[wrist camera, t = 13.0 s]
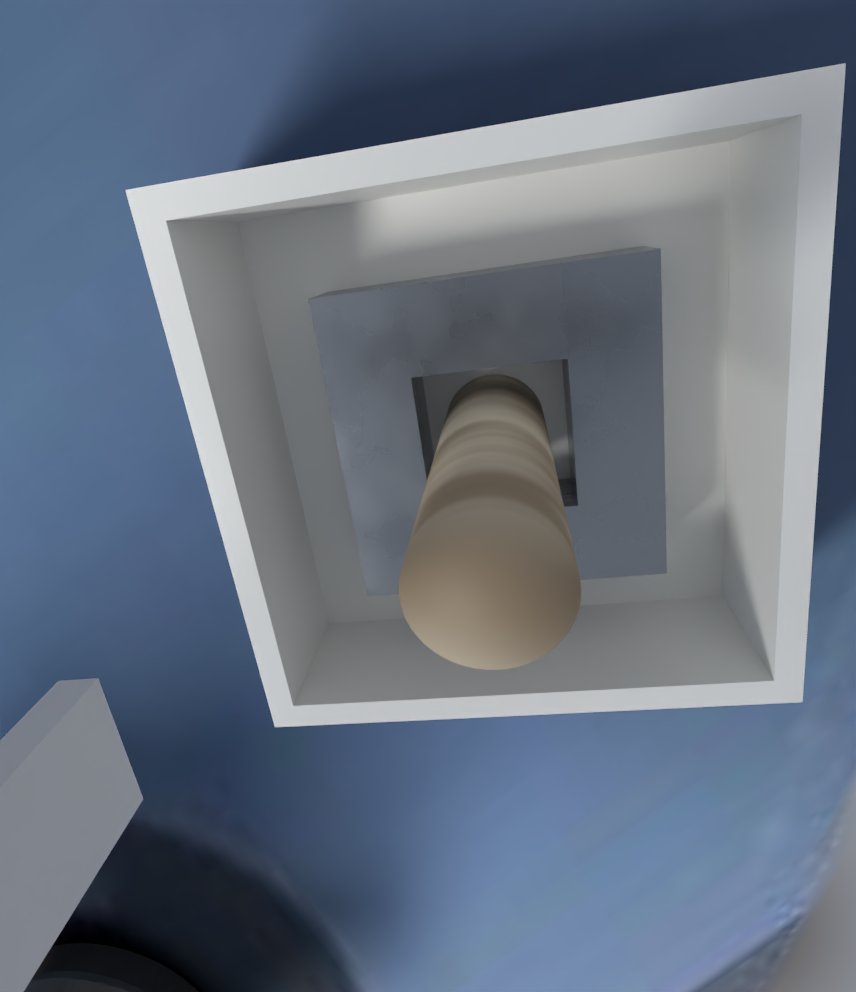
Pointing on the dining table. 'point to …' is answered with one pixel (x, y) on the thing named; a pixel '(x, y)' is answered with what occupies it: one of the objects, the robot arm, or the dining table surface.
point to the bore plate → (496, 343)
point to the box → (508, 241)
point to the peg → (491, 535)
